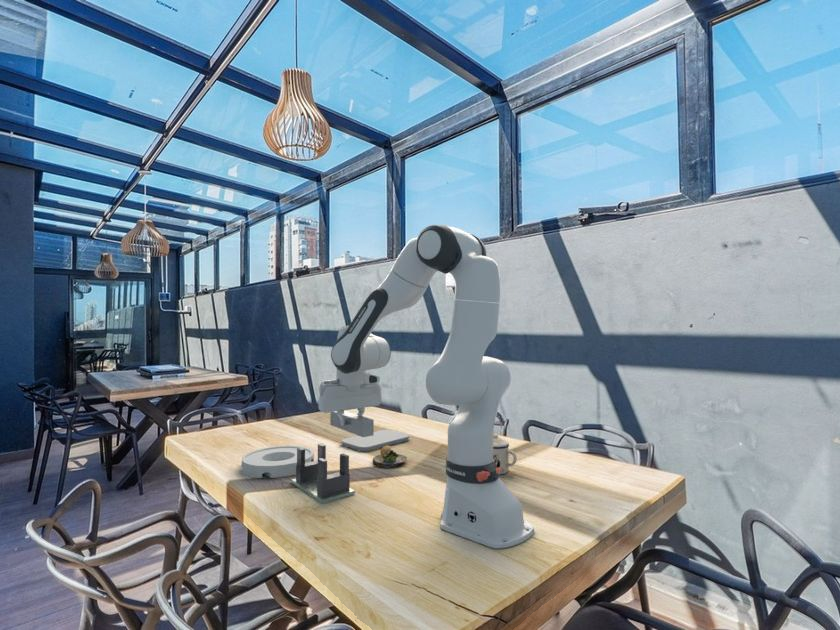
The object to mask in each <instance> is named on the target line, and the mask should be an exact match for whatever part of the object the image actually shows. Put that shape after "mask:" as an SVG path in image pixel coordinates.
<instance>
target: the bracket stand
mask: <svg viewBox="0 0 840 630" xmlns="http://www.w3.org/2000/svg"><path fill="white" fill-rule="evenodd" d="M326 447H327V445H325V444H324V443H317V460H314V461H312V462H308V463H305V449H303V448H301V447H299V448H297V465H296V474H295V478H291V482H290V483H291V484H293V485H294V486H296V487H297V488H299V489H300V490H301V491H302V492H304V493H306V494H307V495H308V496H310V497H311V498H313V499H314V500H316V502H319V503H320V504H325V503H326V504H327V503H330V502H333V501H337V500H340V499H344V498H347V497H351V496H354V495H355V494H356V491H355V490H354V489H353V488H350V485H351V484H350V479H351V478H350V476H351V475H350V455H348V454H346V453H340V454H339V471H337V472H335V473H331V474H328V460H327V456H326V455H327V454H326V452H327V448H326Z"/></svg>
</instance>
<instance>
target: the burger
mask: <svg viewBox="0 0 840 630" xmlns="http://www.w3.org/2000/svg"><path fill="white" fill-rule="evenodd" d="M382 444H383V443H382ZM379 452H380V454H378V455H376V456H374V457H372V465H373V466H374V467H376V468H380V469H397V468H398V467H399V466H400V464H403V463H405V461H407V459H408V458H407V456H405V455H402V454H398V453H397V452H396V451H394V450H393V449H392V446H391V445H390V446H384V447H382V448H380V451H379Z"/></svg>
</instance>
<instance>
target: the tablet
mask: <svg viewBox="0 0 840 630" xmlns="http://www.w3.org/2000/svg"><path fill="white" fill-rule="evenodd" d="M410 436H411V435H410V434H408V433H404V432H400V431H397V430H391V429H382V430H381V429H380V430H377V431H374V435H373V436H368V437H361V436H358V435H354V436H351V437H346V438H343V439H341V440H340V442H341V444H342V446H343V445H344V446H343V447H345V446H347V447H346V448H348V447H350V449H352V448H353V449H352V450H355V449H356V450H355V451H358V450H360V451H359V452H362V451H366V452H369V450H371V451H374V450H373V449H375V450H378V449H377V448H379V449H382V448H383V447H384V446H389V445H390V446H393V444H394V445H397V444H401V443H404V442H408V441H409V438H411V437H410ZM382 443H383V444H382ZM381 447H382V448H381Z"/></svg>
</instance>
